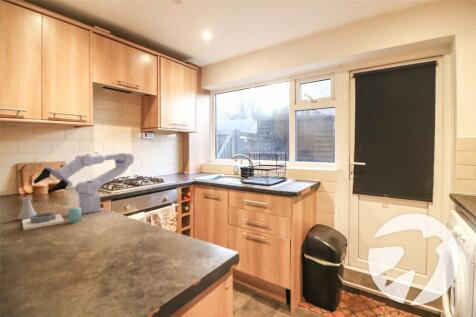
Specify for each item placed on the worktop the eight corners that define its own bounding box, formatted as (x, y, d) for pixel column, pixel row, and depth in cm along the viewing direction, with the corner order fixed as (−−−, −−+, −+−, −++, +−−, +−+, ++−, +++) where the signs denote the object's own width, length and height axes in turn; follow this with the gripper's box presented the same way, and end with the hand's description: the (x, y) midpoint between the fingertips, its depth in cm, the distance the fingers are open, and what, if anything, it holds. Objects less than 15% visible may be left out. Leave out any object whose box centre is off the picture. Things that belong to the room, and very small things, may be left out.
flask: (41, 216, 122) (40, 196, 121) (27, 220, 114) (26, 199, 114) (28, 215, 122) (27, 196, 122) (13, 220, 115) (12, 199, 115)
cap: (80, 219, 116) (79, 206, 115) (82, 221, 112) (81, 208, 112) (68, 221, 112) (67, 208, 112) (69, 223, 109) (69, 210, 109)
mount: (60, 216, 121) (59, 209, 120) (64, 222, 110) (63, 215, 110) (22, 222, 111) (22, 215, 111) (23, 230, 101) (22, 222, 101)
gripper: (56, 156, 118) (27, 172, 107) (80, 174, 118) (54, 191, 107) (56, 165, 122) (28, 181, 112) (80, 182, 122) (54, 199, 112)
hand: (41, 187), depth 110 cm, fingers open, 7 cm apart
